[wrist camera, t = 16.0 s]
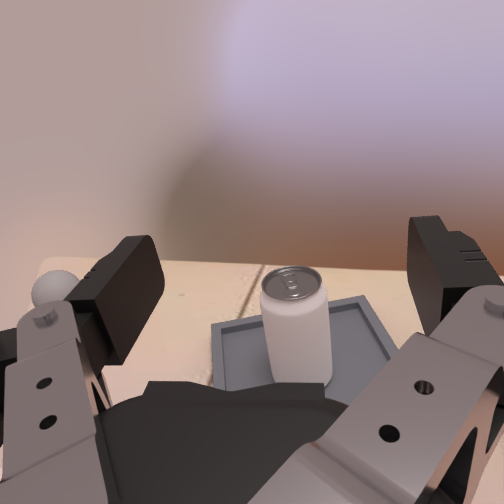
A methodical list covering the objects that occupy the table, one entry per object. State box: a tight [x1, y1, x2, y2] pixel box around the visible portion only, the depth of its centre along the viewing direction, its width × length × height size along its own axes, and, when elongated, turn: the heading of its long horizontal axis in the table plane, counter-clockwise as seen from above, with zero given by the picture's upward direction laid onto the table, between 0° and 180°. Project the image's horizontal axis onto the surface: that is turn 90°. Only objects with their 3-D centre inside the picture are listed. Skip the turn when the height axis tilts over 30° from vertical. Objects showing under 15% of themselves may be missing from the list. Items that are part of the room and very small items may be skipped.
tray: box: [211, 295, 398, 405], centre depth 43 cm, size 20×20×2 cm
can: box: [260, 265, 332, 387], centre depth 40 cm, size 6×6×12 cm
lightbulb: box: [31, 270, 80, 307], centre depth 54 cm, size 6×6×11 cm
